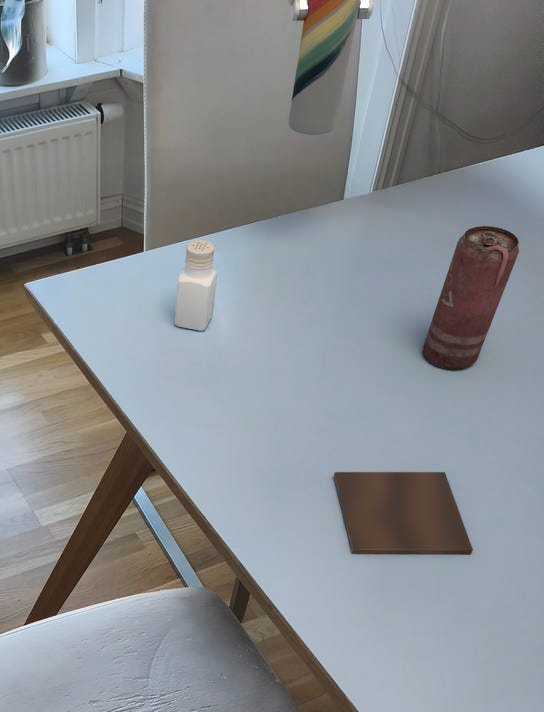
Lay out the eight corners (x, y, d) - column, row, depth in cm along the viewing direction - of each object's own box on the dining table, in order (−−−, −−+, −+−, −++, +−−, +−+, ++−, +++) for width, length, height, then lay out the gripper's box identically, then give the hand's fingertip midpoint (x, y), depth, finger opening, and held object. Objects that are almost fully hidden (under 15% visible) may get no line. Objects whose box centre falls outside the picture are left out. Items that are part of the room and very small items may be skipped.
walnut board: (443, 476, 89) (445, 471, 88) (471, 554, 82) (473, 550, 82) (333, 476, 89) (334, 471, 89) (351, 554, 82) (353, 549, 82)
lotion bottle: (300, 113, 109) (333, -93, 93) (343, 122, 107) (384, -87, 91) (279, 129, 106) (310, -80, 91) (323, 139, 104) (362, -73, 88)
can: (446, 378, 99) (489, 258, 88) (410, 349, 103) (448, 231, 92) (489, 364, 100) (537, 245, 90) (452, 336, 104) (494, 218, 93)
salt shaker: (172, 327, 107) (178, 251, 100) (182, 310, 109) (188, 235, 102) (204, 333, 106) (212, 257, 99) (213, 316, 108) (222, 240, 101)
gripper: (244, -138, 93) (242, 2, 95) (441, -145, 92) (435, -3, 94) (236, -95, 99) (233, 36, 101) (419, -101, 98) (414, 31, 100)
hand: (332, 17), depth 97 cm, fingers closed on lotion bottle, 5 cm apart
